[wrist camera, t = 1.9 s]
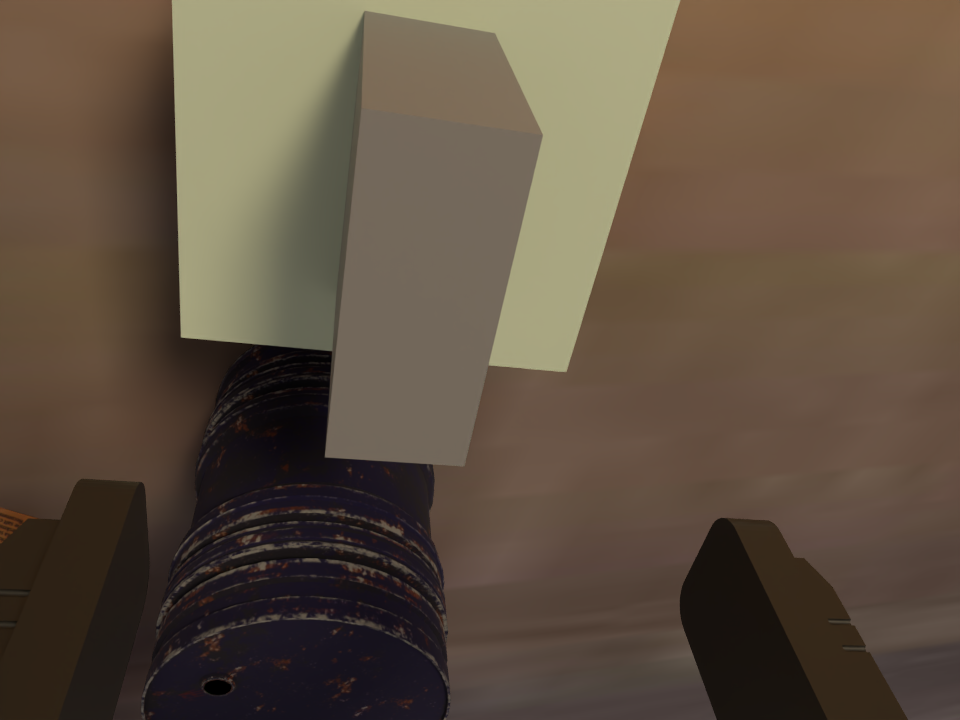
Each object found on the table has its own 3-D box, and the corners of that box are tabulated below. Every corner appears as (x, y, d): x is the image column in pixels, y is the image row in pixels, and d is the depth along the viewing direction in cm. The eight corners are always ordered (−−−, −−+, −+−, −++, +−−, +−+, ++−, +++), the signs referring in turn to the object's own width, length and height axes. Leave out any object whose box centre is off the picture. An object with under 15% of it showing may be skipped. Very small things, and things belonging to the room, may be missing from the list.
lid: (185, -131, 19) (71, -73, 12) (662, -38, 21) (812, 60, 14) (192, 302, 26) (122, 509, 18) (555, 337, 28) (618, 534, 21)
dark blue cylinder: (471, 390, 38) (516, 676, 26) (356, 515, 42) (349, 814, 30) (282, 287, 34) (232, 572, 22) (174, 437, 38) (81, 748, 26)
